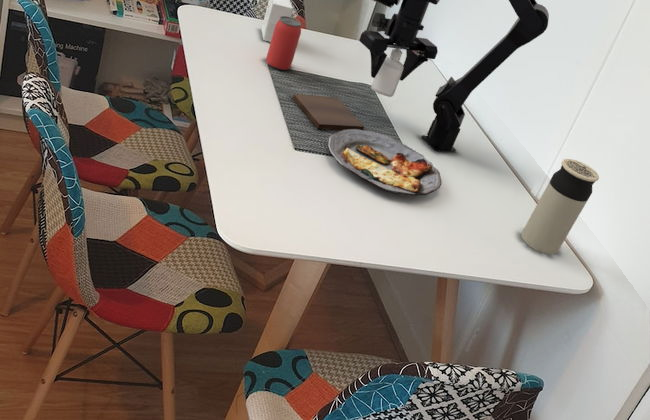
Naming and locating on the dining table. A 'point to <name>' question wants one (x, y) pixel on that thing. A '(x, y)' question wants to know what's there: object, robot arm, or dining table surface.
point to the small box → (274, 16)
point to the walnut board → (327, 112)
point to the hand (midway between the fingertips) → (386, 78)
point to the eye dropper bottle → (389, 74)
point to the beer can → (284, 43)
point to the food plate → (385, 162)
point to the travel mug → (559, 206)
